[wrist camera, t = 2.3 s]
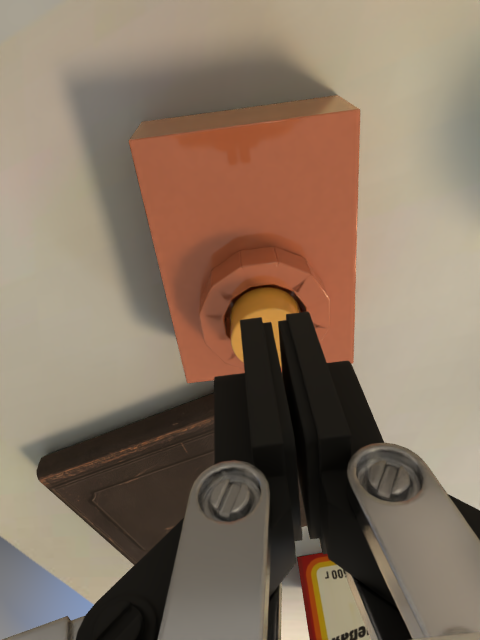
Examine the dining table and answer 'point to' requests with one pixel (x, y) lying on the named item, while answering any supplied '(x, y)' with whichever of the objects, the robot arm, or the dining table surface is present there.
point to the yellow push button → (260, 313)
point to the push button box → (253, 219)
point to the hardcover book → (137, 475)
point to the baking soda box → (329, 601)
